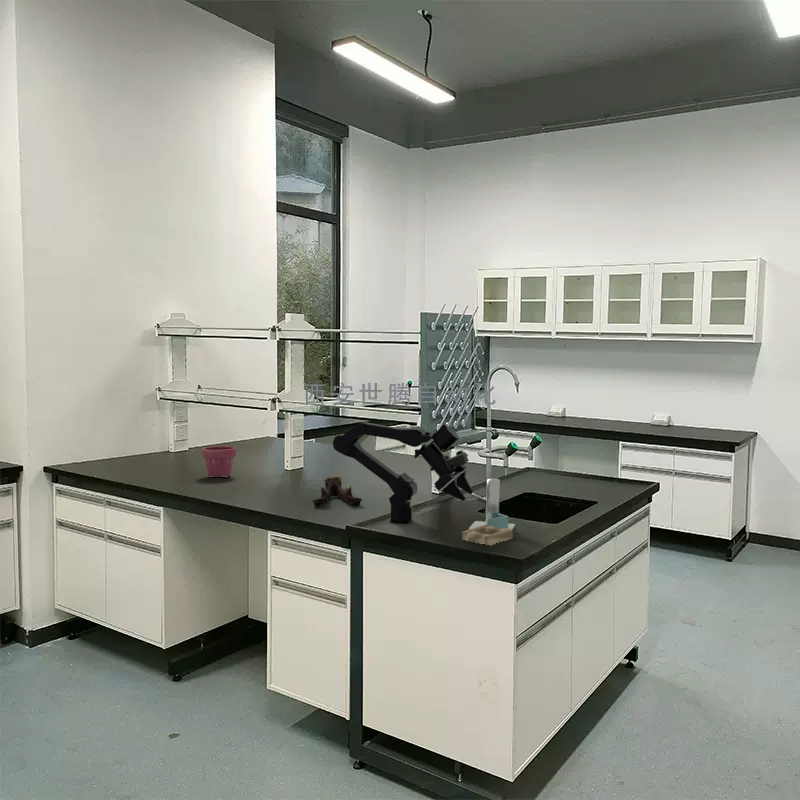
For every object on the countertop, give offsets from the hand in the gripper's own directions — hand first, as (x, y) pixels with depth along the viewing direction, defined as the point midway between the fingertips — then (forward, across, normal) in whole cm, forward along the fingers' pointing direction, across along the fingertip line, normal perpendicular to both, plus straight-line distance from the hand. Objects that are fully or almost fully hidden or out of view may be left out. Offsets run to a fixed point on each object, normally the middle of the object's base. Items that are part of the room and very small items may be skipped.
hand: (468, 496), depth 234 cm
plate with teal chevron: (+12, 0, +1) cm, 12 cm away
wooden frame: (+13, -14, -1) cm, 19 cm away
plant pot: (-76, +48, +99) cm, 134 cm away
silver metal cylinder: (+12, 0, +1) cm, 12 cm away
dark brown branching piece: (-29, +20, +47) cm, 58 cm away
